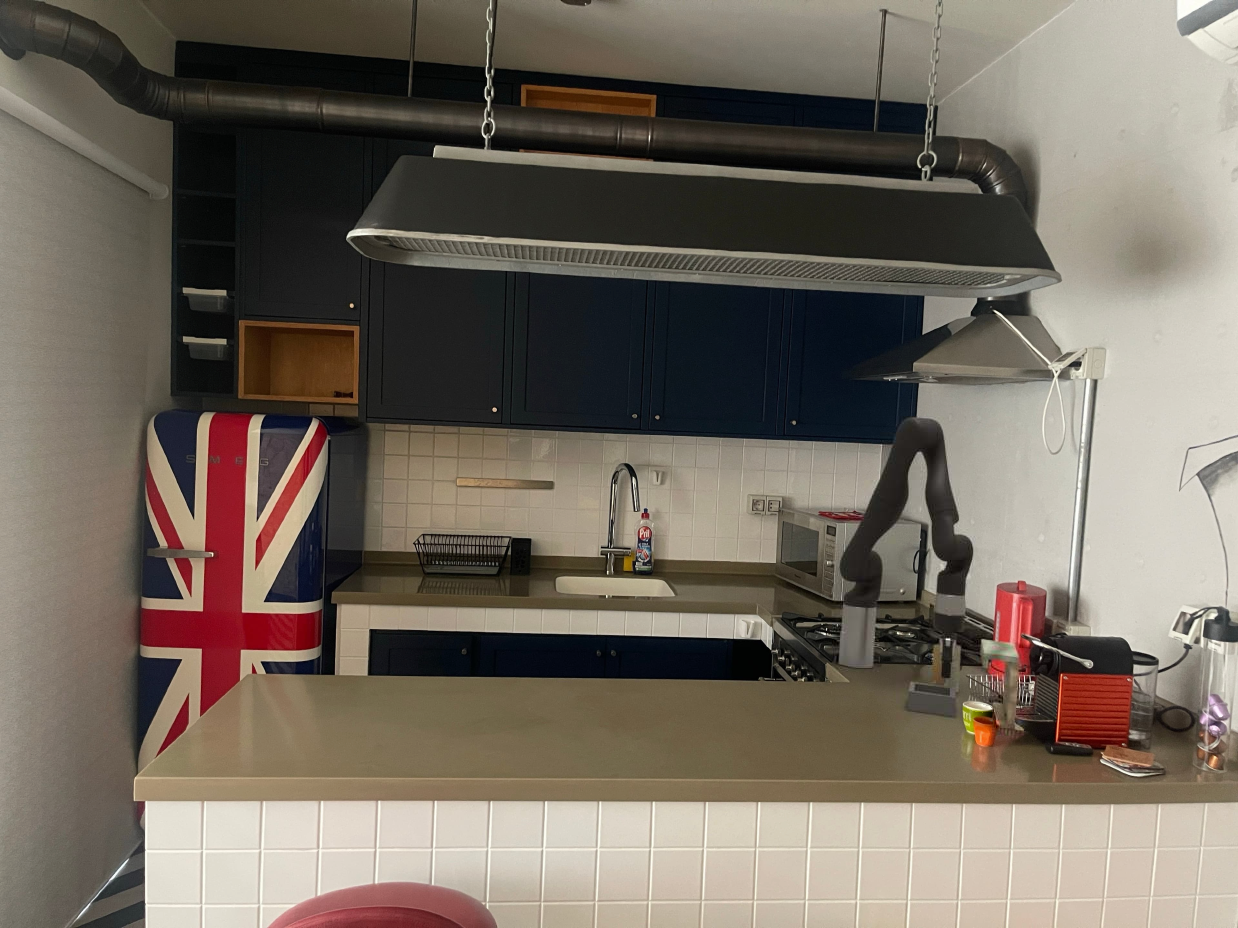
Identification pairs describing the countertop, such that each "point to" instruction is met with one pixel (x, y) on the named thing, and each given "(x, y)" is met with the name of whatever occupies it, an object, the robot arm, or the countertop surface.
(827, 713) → the countertop surface
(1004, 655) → the awning stand
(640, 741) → the countertop surface
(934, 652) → the skincare box
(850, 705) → the countertop surface
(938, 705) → the socket
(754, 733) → the countertop surface
